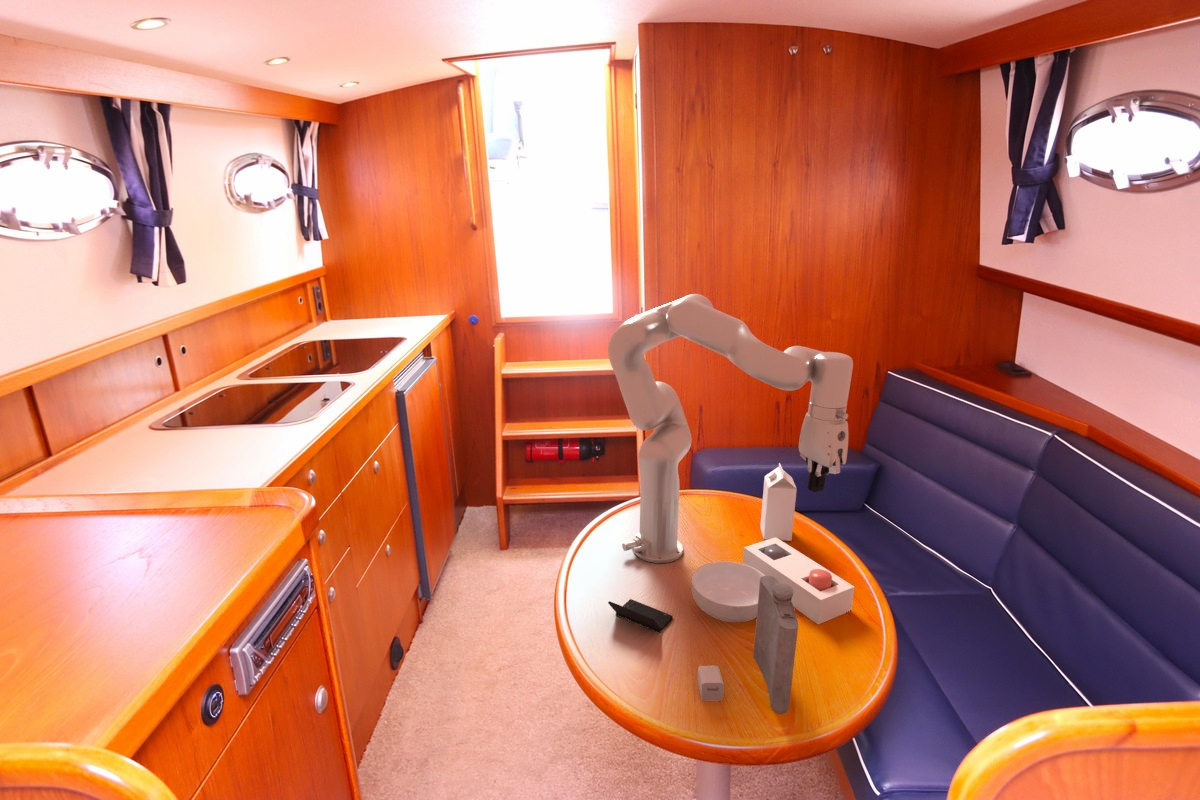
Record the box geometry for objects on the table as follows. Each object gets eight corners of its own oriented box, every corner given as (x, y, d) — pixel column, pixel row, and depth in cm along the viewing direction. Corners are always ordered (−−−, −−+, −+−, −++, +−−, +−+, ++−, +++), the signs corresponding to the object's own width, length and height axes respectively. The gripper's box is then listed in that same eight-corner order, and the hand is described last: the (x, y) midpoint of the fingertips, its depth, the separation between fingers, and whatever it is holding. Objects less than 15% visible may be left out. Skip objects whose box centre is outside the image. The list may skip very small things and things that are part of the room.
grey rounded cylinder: (772, 578, 153) (774, 557, 151) (758, 568, 157) (760, 548, 155) (787, 572, 155) (789, 552, 153) (773, 563, 159) (775, 543, 157)
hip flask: (751, 652, 130) (759, 563, 124) (772, 652, 130) (780, 563, 124) (773, 713, 115) (782, 616, 109) (796, 713, 115) (807, 616, 109)
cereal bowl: (682, 624, 138) (683, 595, 136) (698, 581, 153) (700, 555, 151) (764, 642, 133) (767, 612, 131) (773, 596, 148) (775, 569, 146)
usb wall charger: (700, 700, 118) (701, 682, 116) (695, 673, 124) (695, 656, 123) (723, 700, 118) (724, 682, 116) (716, 673, 124) (717, 656, 123)
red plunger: (818, 605, 141) (821, 583, 139) (802, 594, 145) (805, 572, 143) (833, 599, 143) (836, 577, 141) (817, 588, 147) (820, 567, 145)
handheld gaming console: (676, 607, 141) (662, 589, 134) (669, 640, 138) (654, 624, 130) (627, 599, 147) (611, 582, 139) (619, 632, 143) (602, 615, 136)
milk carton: (786, 528, 177) (793, 463, 172) (791, 541, 171) (798, 474, 165) (760, 526, 178) (765, 462, 172) (763, 540, 171) (769, 473, 166)
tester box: (817, 624, 138) (820, 600, 136) (742, 569, 158) (743, 547, 156) (851, 610, 143) (854, 586, 141) (773, 558, 163) (775, 537, 161)
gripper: (867, 420, 134) (854, 501, 140) (814, 398, 147) (804, 473, 152) (840, 425, 131) (828, 507, 136) (788, 402, 143) (779, 479, 149)
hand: (815, 489), depth 144 cm, fingers closed
